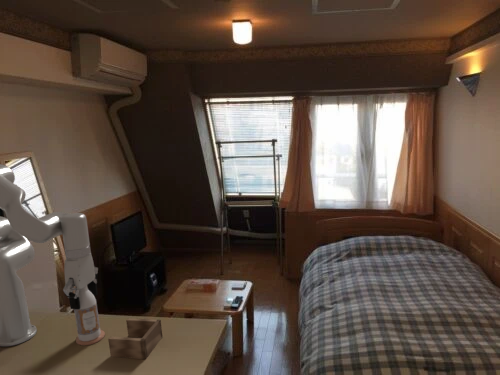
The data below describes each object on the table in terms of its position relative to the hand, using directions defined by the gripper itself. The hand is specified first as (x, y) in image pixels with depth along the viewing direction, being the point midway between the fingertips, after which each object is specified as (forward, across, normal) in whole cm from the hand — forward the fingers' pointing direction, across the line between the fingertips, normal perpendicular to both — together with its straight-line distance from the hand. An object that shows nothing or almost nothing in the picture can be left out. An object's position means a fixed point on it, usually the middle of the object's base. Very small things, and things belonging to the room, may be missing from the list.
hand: (84, 301), depth 136 cm
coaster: (+13, 0, 0) cm, 13 cm away
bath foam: (+12, 0, 0) cm, 13 cm away
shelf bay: (+13, +3, +18) cm, 23 cm away
